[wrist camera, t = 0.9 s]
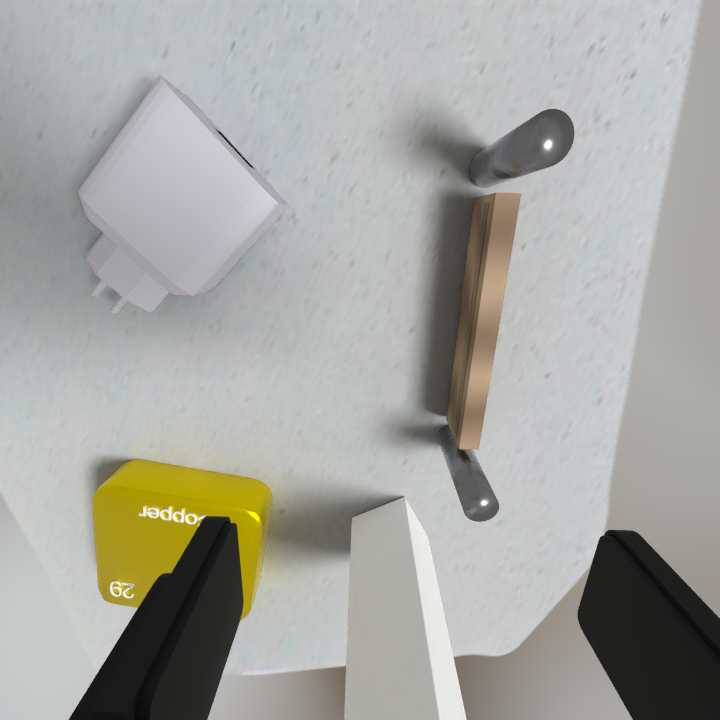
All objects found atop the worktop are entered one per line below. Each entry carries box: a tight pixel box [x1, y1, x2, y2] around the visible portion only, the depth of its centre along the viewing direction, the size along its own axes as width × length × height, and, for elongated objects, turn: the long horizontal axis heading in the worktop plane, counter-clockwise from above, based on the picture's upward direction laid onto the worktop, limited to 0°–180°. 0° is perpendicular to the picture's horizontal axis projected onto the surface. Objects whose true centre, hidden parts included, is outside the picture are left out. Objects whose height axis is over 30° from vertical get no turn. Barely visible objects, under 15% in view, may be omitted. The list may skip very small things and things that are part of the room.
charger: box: [78, 76, 288, 314], centre depth 25 cm, size 5×9×15 cm
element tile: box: [92, 459, 272, 620], centre depth 35 cm, size 15×15×5 cm
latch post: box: [438, 425, 499, 522], centre depth 29 cm, size 2×2×9 cm
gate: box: [446, 193, 521, 450], centre depth 27 cm, size 18×2×4 cm, turn 178°
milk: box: [344, 497, 466, 720], centre depth 26 cm, size 6×6×22 cm
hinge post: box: [469, 109, 574, 187], centre depth 21 cm, size 2×2×9 cm
